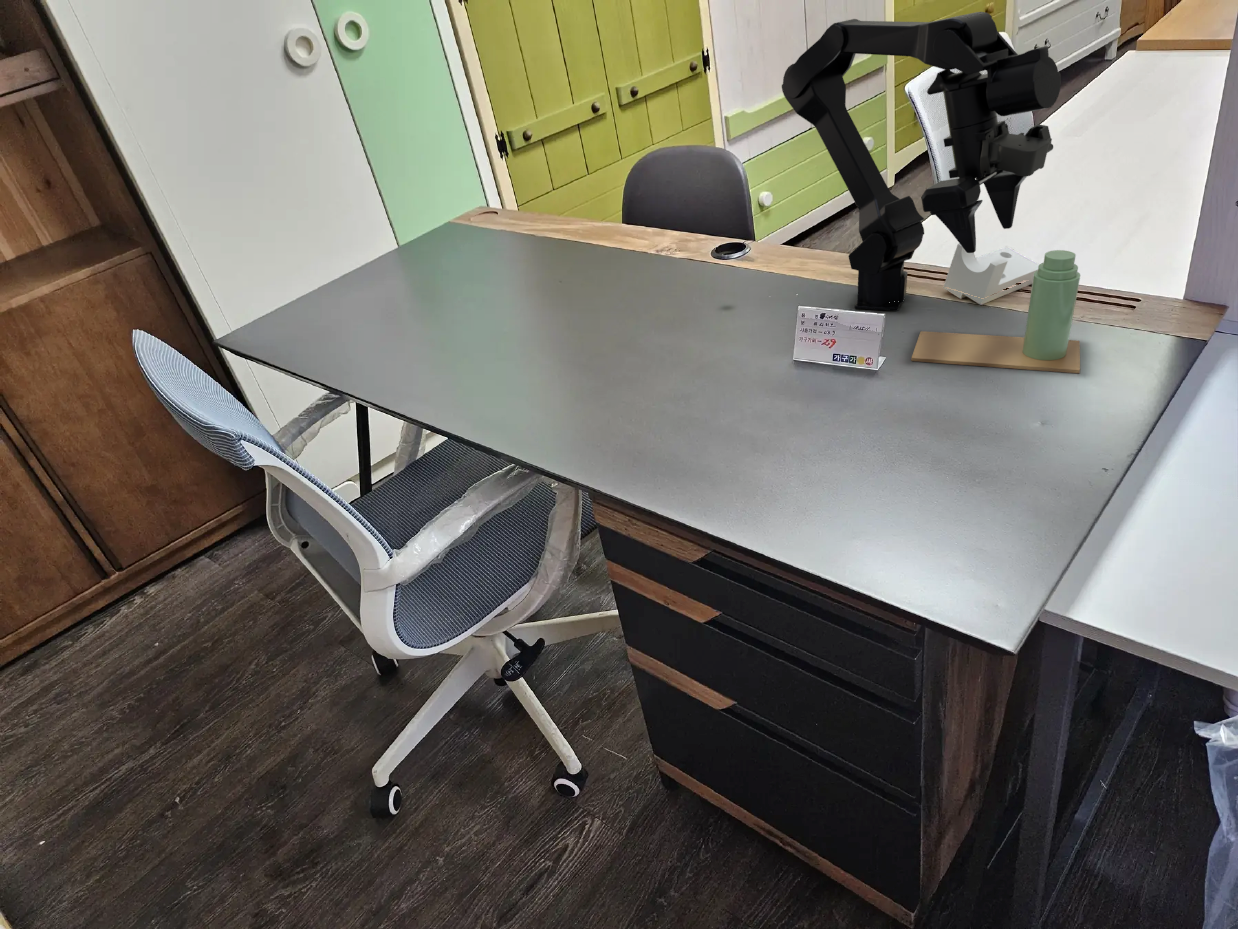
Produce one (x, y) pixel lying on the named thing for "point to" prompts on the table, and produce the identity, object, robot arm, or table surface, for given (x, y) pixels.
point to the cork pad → (989, 352)
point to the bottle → (1051, 306)
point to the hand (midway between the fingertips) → (989, 240)
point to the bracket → (988, 273)
